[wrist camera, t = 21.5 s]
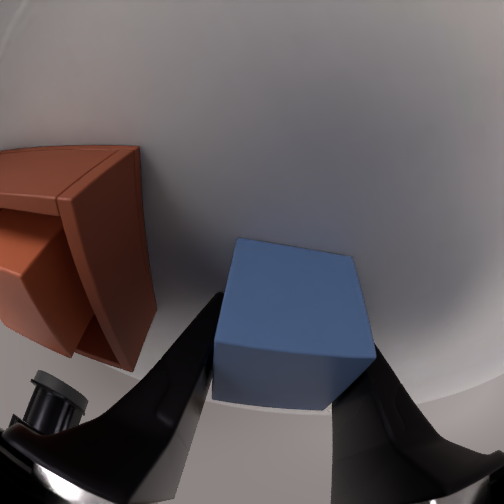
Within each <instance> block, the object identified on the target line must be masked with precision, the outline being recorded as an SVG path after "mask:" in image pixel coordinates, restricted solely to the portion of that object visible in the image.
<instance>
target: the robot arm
mask: <svg viewBox="0 0 504 504" xmlns="http://www.w3.org/2000/svg"><path fill="white" fill-rule="evenodd" d="M223 298H224V293H223V292H217V293H216V294H215V295H214V296H213V297H212V299H211V300H210V301H209V302H208V303H207V305H206V306H205V307H204V308H203V309H202V310H201V312H200V313H199V314H198V315H197V316H196V318H195V319H194V320H193V321H192V322H191V323H190V325H189V326H188V327H187V328H186V329H185V331H184V332H183V333H182V334H181V335H180V336H179V338H178V339H177V340H176V341H175V342H174V343H173V345H172V346H171V347H170V348H169V349H168V351H167V352H166V353H165V354H164V355H163V356H162V358H161V360H159V361H158V362H157V363H156V365H155V366H154V367H153V368H152V369H151V370H150V371H149V372H148V374H147V375H146V376H145V377H144V378H143V379H142V380H141V381H140V382H139V383H138V384H137V385H136V386H134V388H132V389H131V390H130V391H129V392H128V393H127V394H126V395H124V396H123V397H122V398H121V399H120V400H119V401H118V402H117V403H116V404H114V405H113V406H112V407H111V408H110V409H109V410H107V411H106V412H105V413H103V414H102V415H101V416H99V417H97V418H95V419H93V420H91V421H88V422H85V423H83V424H80V425H79V423H80V420H81V417H82V415H83V416H84V415H85V413H84V412H83V411H82V410H81V409H80V408H78V407H77V406H76V405H75V404H74V403H73V402H71V401H70V400H69V399H68V398H67V397H65V396H63V395H61V394H59V393H57V392H55V391H53V390H51V389H49V388H47V387H46V386H44V385H42V384H40V383H38V382H37V381H35V380H33V379H31V383H33V384H34V385H35V386H36V387H35V390H34V392H33V395H32V397H31V399H30V402H29V405H28V407H27V410H26V412H25V415H24V418H23V420H21V419H20V418H19V417H18V416H16V415H14V414H13V416H12V419H11V421H10V424H9V427H8V428H7V429H6V430H3V429H2V428H0V504H157V502H161V501H166V500H170V499H174V497H175V494H176V491H177V488H178V485H179V481H180V478H181V475H182V472H183V469H184V466H185V462H186V459H187V456H188V452H189V450H190V446H191V443H192V440H193V437H194V433H195V431H196V427H197V424H198V421H199V418H200V415H201V411H202V408H203V405H204V402H205V399H206V396H207V392H208V389H209V386H210V383H211V380H212V377H213V356H214V339H215V334H216V330H217V325H218V320H219V316H220V311H221V307H222V302H223ZM374 346H375V351H376V359H375V360H374V361H373V362H372V363H371V364H370V366H369V367H368V368H367V369H366V370H365V371H364V372H363V373H362V374H361V375H360V376H359V377H358V378H357V379H356V380H355V381H354V382H353V383H352V384H351V385H350V386H349V387H348V388H347V389H346V390H345V391H344V392H343V393H342V394H341V395H339V396H338V397H337V398H336V399H335V400H334V401H333V402H332V422H333V423H332V425H333V456H332V457H333V459H332V460H333V464H332V488H331V504H504V453H503V452H502V451H500V450H498V451H495V452H493V453H491V454H489V455H486V454H481V453H478V452H475V451H473V450H470V449H467V448H465V447H462V446H460V445H457V444H455V443H452V442H450V441H448V440H446V439H444V438H443V437H441V436H440V435H439V434H438V433H437V432H436V431H435V429H434V428H433V427H432V426H431V424H430V423H429V422H428V420H427V419H426V418H425V416H424V415H423V414H422V412H421V411H420V410H419V408H418V407H417V406H416V404H415V403H414V402H413V400H412V399H411V397H410V396H409V394H408V393H407V391H406V390H405V388H404V387H403V385H402V384H401V383H400V381H399V379H398V378H397V376H396V375H395V373H394V371H393V370H392V368H391V367H390V365H389V364H388V362H387V361H386V359H385V358H384V356H383V355H382V353H381V352H380V351H379V349H378V348H377V346H376V345H375V343H374ZM24 421H25V422H24ZM27 423H28V424H27ZM30 425H31V426H30Z"/></svg>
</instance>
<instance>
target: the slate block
mask: <svg viewBox="0 0 504 504" xmlns="http://www.w3.org/2000/svg"><path fill="white" fill-rule="evenodd" d="M375 359H376V351H375V346H374V341H373V336H372V331H371V327H370V322H369V318H368V314H367V310H366V305H365V301H364V297H363V294H362V290H361V286H360V282H359V278H358V275H357V271H356V268H355V264H354V261H353V258H352V257H350V256H344V255H339V254H333V253H327V252H321V251H316V250H310V249H304V248H298V247H292V246H286V245H280V244H274V243H268V242H262V241H256V240H250V239H244V238H237V240H236V244H235V249H234V253H233V257H232V262H231V266H230V271H229V275H228V280H227V284H226V288H225V293H224V298H223V302H222V307H221V311H220V316H219V320H218V325H217V330H216V334H215V339H214V356H213V378H212V399H213V400H219V401H225V402H231V403H238V404H245V405H253V406H262V407H272V408H285V409H301V410H324V409H325V408H326V407H327V406H329V405H330V404H331V403H332V402H333V401H334V400H335V399H336V398H337V397H338V396H339V395H341V394H342V393H343V392H344V391H345V390H346V389H347V388H348V387H349V386H350V385H351V384H352V383H353V382H354V381H355V380H356V379H357V378H358V377H359V376H360V375H361V374H362V373H363V372H364V371H365V370H366V369H367V368H368V367H369V366H370V364H371V363H372V362H373V361H374V360H375Z"/></svg>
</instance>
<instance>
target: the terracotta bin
mask: <svg viewBox="0 0 504 504" xmlns="http://www.w3.org/2000/svg"><path fill="white" fill-rule="evenodd" d="M4 208H6V209H13V210H19V211H26V212H33V213H39V214H46V215H52V216H61V219H62V223H63V226H64V230H65V234H66V237H67V240H68V244H69V247H70V250H71V253H72V256H73V259H74V262H75V265H76V268H77V271H78V273H79V276H80V279H81V281H82V284H83V287H84V289H85V292H86V294H87V297H88V299H89V302H90V304H91V306H92V309H93V311H94V314H93V316H92V318H91V320H90V322H89V324H88V326H87V328H86V330H85V331H84V333H83V335H82V337H81V339H80V341H79V343H78V345H77V347H76V350H75V352H76V353H78V354H81V355H83V356H86V357H88V358H91V359H94V360H96V361H99V362H102V363H105V364H108V365H111V366H114V367H117V368H120V369H123V370H126V371H129V372H133V371H134V368H135V366H136V363H137V360H138V357H139V355H140V352H141V349H142V346H143V344H144V341H145V339H146V336H147V333H148V331H149V328H150V326H151V323H152V321H153V318H154V315H155V313H156V311H157V307H156V302H155V296H154V291H153V285H152V279H151V272H150V265H149V258H148V251H147V243H146V235H145V226H144V216H143V204H142V191H141V175H140V150H139V146H117V145H74V146H49V147H34V148H22V149H12V150H3V151H0V211H1V210H2V209H4Z"/></svg>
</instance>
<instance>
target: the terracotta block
mask: <svg viewBox="0 0 504 504" xmlns="http://www.w3.org/2000/svg"><path fill="white" fill-rule="evenodd" d="M93 314H94V311H93V309H92V306H91V304H90V302H89V299H88V297H87V294H86V292H85V289H84V287H83V284H82V281H81V279H80V276H79V273H78V271H77V268H76V265H75V262H74V259H73V256H72V253H71V250H70V247H69V244H68V240H67V237H66V234H65V230H64V226H63V223H62V219H61V216H52V215H46V214H39V213H33V212H26V211H19V210H13V209H6V208H4V209H2V210H1V211H0V319H1V321H2V322H3V323H4V325H5V326H6V327H8V328H10V329H12V330H13V331H15V332H17V333H19V334H21V335H23V336H25V337H26V338H29V339H30V340H32V341H34V342H36V343H38V344H40V345H42V346H44V347H46V348H48V349H51V350H53V351H55V352H57V353H59V354H62V355H64V356H66V357H69V358H72V356H73V353H74V352H75V350H76V347H77V345H78V343H79V341H80V339H81V337H82V335H83V333H84V331H85V330H86V328H87V326H88V324H89V322H90V320H91V318H92V316H93Z"/></svg>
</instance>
